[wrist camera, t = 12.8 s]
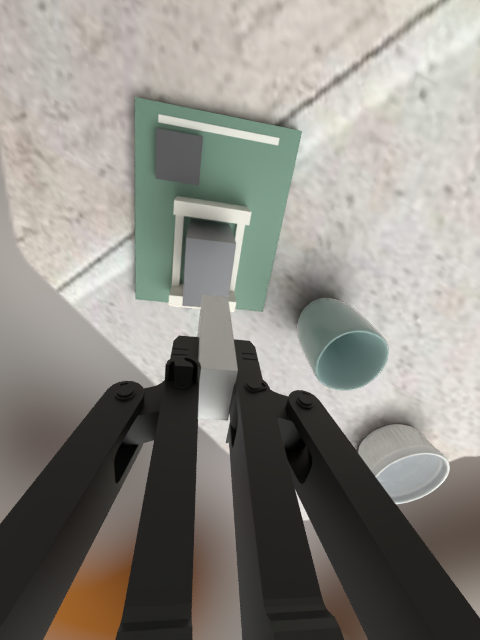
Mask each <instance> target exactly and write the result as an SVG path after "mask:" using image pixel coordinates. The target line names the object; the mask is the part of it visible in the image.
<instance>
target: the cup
mask: <svg viewBox="0 0 480 640" xmlns="http://www.w3.org/2000/svg"><path fill="white" fill-rule="evenodd" d="M297 335H298V339H299V342H300V345H301V348H302V351H303V353H304V355H305V357H306V359H307V361H308V363H309V365H310V367H311V369H312V371H313V373H314V375H315V376H316V378H317V379H318V380H319V381H320V382H321V383H322V384H323V385H325V386H327V387H329V388H332V389H335V390H354V389H357V388H361V387H363V386H365V385H367V384H368V383H370V382H371V381H372V380H374V379H375V378H376V377H377V376H378V375H379V373H380V372H381V371H382V369H383V368H384V366H385V364H386V362H387V359H388V354H389V348H388V344H387V342H386V340H385V339H384V337H383V336H382V335H381V334H380V333H379V332H378V331H377V330H376V329H375V328H374V327H373V326H372V325H371V324H370V323H369V321H368V320H366V319H365V318H364V317H363V316H362V315H361V314H360V313H359V312H358V311H357V310H355V309H354V308H353V307H351V306H350V305H348V304H347V303H345V302H343V301H340V300H338V299H333V298H320V299H316V300H314V301H312V302H310V303H309V304H308V305H307V306H306V307H305V308H304V309H303V311H302V313H301V314H300V317H299V319H298V324H297Z"/></svg>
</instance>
